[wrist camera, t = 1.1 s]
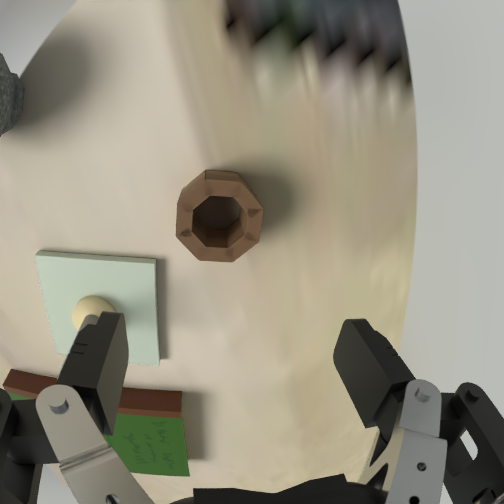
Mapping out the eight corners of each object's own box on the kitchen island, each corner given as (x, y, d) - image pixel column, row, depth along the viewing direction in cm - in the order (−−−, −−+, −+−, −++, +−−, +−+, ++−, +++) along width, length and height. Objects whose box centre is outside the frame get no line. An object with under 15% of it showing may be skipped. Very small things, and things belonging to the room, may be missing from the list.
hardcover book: (181, 388, 34) (180, 411, 31) (189, 457, 42) (189, 476, 38) (8, 365, 30) (-2, 384, 27) (51, 439, 37) (46, 456, 34)
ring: (183, 168, 24) (179, 177, 20) (258, 174, 25) (267, 184, 21) (179, 238, 26) (175, 259, 22) (249, 243, 27) (256, 263, 23)
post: (38, 250, 24) (-22, 315, 14) (156, 258, 26) (132, 340, 16) (60, 347, 29) (28, 421, 19) (160, 359, 31) (151, 444, 21)
